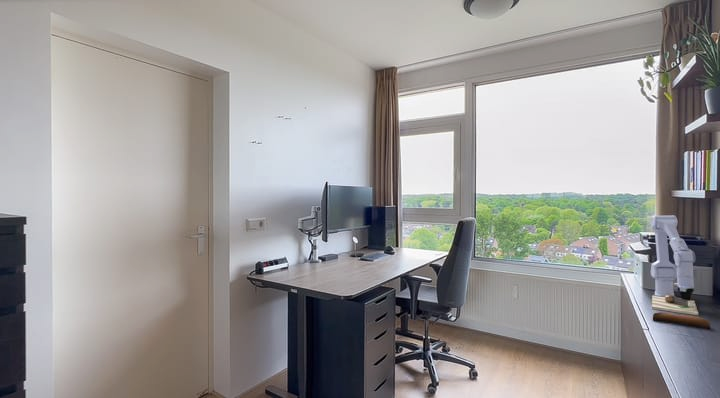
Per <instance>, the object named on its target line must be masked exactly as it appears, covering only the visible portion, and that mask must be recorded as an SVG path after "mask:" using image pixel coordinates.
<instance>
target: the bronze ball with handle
mask: <svg viewBox="0 0 720 398" xmlns="http://www.w3.org/2000/svg"><path fill="white" fill-rule="evenodd" d="M690 300H691V299H690ZM690 300H686V299H682V297H677V296H676V295H674V296H673V295H665V301H666V302H671V303H677V304H681V305H684V306H688V307H692V301H693V300H691V301H690Z"/></svg>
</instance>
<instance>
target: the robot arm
mask: <svg viewBox="0 0 720 398" xmlns="http://www.w3.org/2000/svg"><path fill="white" fill-rule="evenodd" d="M649 222H650V230H651V231H653V232H654V236H655V237H654V238H655V250H656V251H655V252H656V261H654V262H652V263H651V265H650V267H651V268H650V276H651V277H652V278H653V279H655V280H654V281H655V282H654V284H655V285H654V286H655V291H654V296H658V297H665V295H673V296H675V293H674V285H675V286H677V288H676V289H677V291H678V292H679V294H680V296H681V297H680V298H682V299H686V300H691V298H692V295H693V293H694V291H695V289H694V288H695V283H694V282H695V281H694V266H693V265H694V263H695V262H696V254H695V252H694V251H693V250H691V249H690V248H689V247H688V245H687V243H686V242H685V240H684V238H681V237H680V235H679V232H678V229H677V226H678V222H679V221H678V218H677V216H676V215H673V214H671V215H651V217H650V221H649ZM668 237H669V242H668ZM668 243H669V244H668ZM669 245H670V247H671V249H672V252H673V260H674V263H672V262H671V261H670V258H669V257H670V256H669V255H670V254H669ZM676 279H677V280H676ZM675 280H676V282H674V281H675Z"/></svg>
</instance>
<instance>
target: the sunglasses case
mask: <svg viewBox="0 0 720 398" xmlns="http://www.w3.org/2000/svg"><path fill="white" fill-rule="evenodd" d="M652 321H653V322H654V321H656V322H665V323H666V322H667V323H676V324H682V325H689V326H694V327H701V328H707V329H709V330H711V325H710V324H711V323H710V321H708V319H705V318H702V317H700V316H696V315H686V314H685V315H684V314H675V313H671V312H666V311H662V312H661V311H660V312H654V313H653V315H652Z"/></svg>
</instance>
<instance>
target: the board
mask: <svg viewBox="0 0 720 398" xmlns="http://www.w3.org/2000/svg"><path fill="white" fill-rule="evenodd" d="M651 297H652V299H651V309H652V310H657V311H662V312H669V313H671V312H672V313H678V314H683V315H684V314H685V315H690V316H699V311H698V309H697V305H696V303H695V302H696V301H695V300H691V299H690V301H692V307H688V306H684V305H681V304H677V303H671V302H666V301H665V297H662V296H655V295H651Z"/></svg>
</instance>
